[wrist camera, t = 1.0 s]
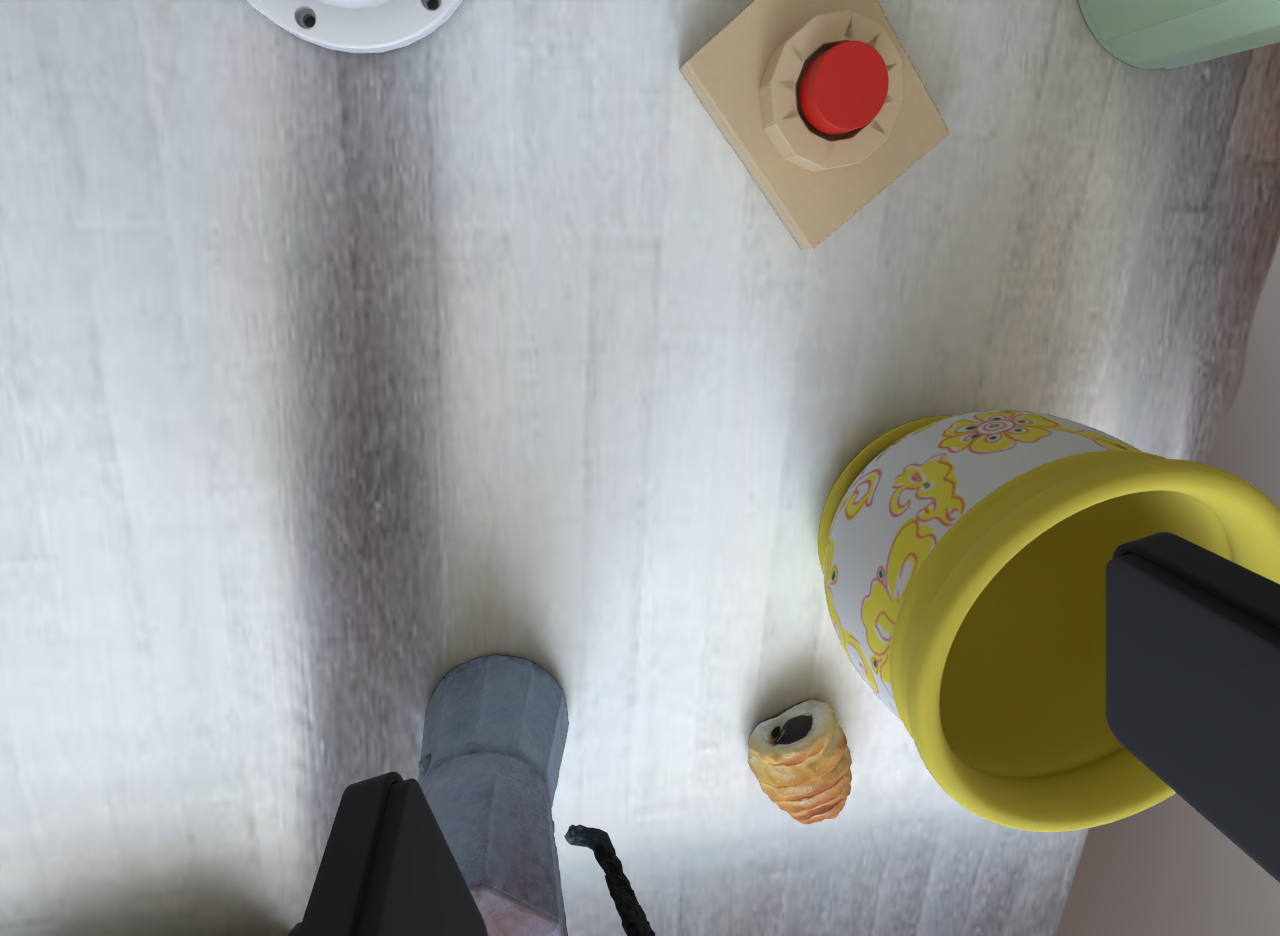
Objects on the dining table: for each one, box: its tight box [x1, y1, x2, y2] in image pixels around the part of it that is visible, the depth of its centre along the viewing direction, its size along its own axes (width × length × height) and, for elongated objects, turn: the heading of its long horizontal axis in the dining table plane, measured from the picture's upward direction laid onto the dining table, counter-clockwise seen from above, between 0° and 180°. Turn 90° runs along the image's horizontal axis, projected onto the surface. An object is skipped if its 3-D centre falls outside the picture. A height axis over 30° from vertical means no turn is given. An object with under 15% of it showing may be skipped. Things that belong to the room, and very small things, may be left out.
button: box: [800, 40, 889, 135], centre depth 32 cm, size 4×4×2 cm
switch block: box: [679, 0, 949, 249], centre depth 34 cm, size 11×9×4 cm
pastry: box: [748, 700, 852, 824], centre depth 48 cm, size 9×7×4 cm
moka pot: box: [418, 655, 655, 936], centre depth 35 cm, size 10×15×20 cm, turn 78°
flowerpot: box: [818, 410, 1280, 832], centre depth 37 cm, size 18×18×16 cm
